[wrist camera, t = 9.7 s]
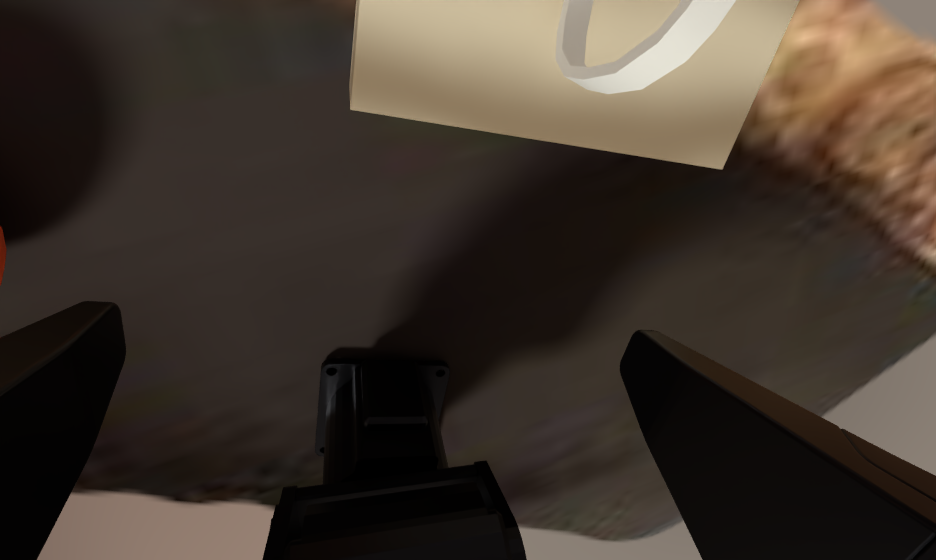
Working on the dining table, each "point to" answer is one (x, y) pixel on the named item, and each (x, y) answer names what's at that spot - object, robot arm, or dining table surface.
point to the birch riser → (542, 82)
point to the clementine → (2, 254)
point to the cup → (648, 60)
